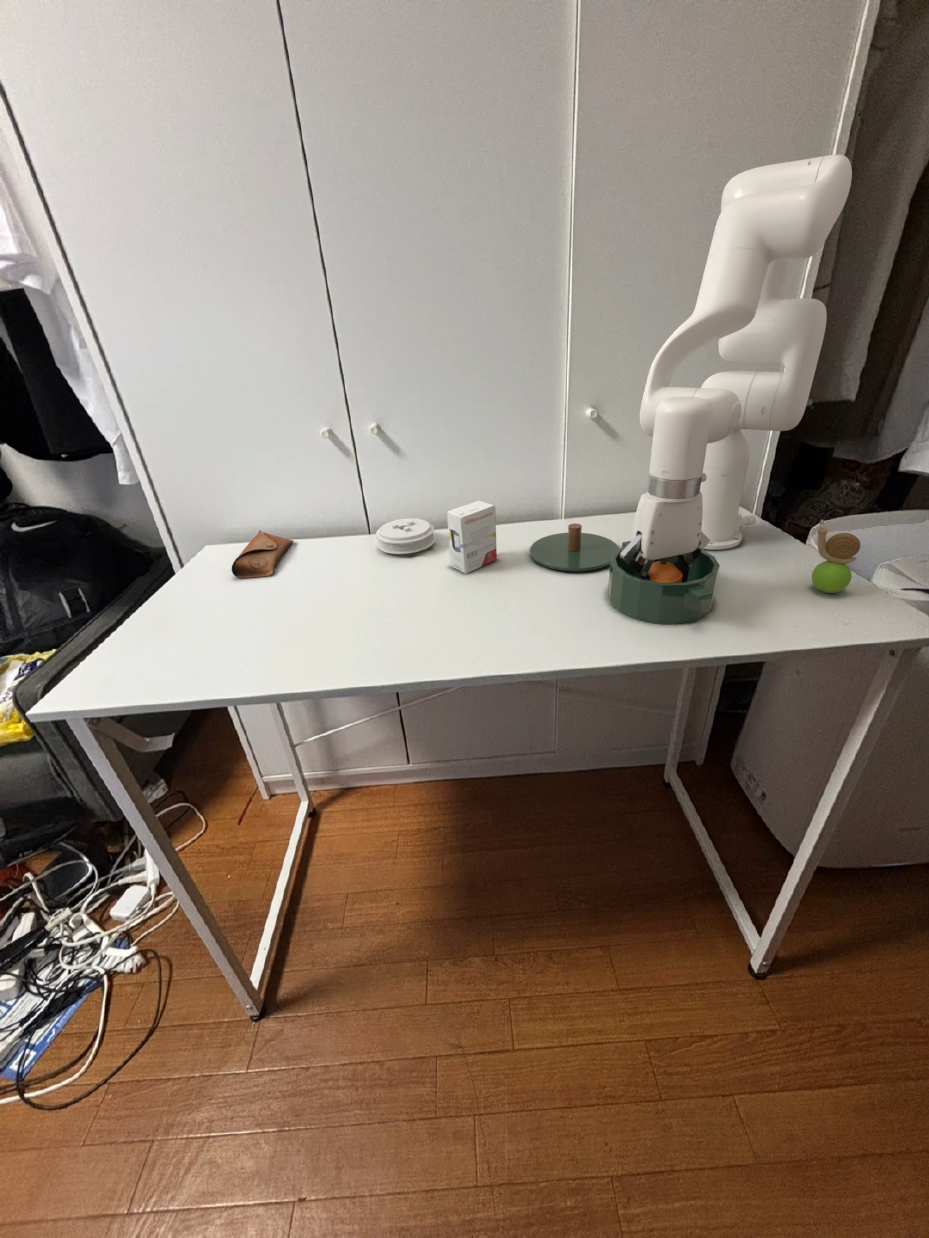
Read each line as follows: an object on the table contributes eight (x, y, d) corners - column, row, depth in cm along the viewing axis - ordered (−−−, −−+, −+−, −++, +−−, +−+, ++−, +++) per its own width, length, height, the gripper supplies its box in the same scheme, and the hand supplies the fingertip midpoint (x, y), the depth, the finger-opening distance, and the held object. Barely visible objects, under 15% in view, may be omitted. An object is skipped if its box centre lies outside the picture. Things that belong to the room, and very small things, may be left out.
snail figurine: (802, 580, 95) (821, 514, 88) (846, 587, 92) (868, 519, 85) (800, 593, 91) (819, 526, 85) (845, 601, 88) (869, 532, 82)
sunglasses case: (274, 573, 110) (250, 549, 107) (249, 591, 112) (225, 567, 109) (295, 539, 126) (274, 517, 123) (273, 555, 128) (252, 534, 125)
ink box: (482, 553, 113) (479, 499, 107) (498, 561, 110) (496, 504, 104) (449, 567, 109) (444, 510, 103) (465, 575, 105) (461, 517, 99)
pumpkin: (664, 584, 95) (669, 547, 92) (687, 601, 90) (693, 562, 86) (632, 591, 94) (636, 553, 90) (652, 608, 89) (657, 569, 85)
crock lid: (592, 532, 119) (594, 505, 116) (636, 564, 104) (639, 533, 101) (517, 546, 115) (517, 518, 112) (551, 580, 101) (551, 550, 98)
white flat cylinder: (440, 534, 124) (438, 513, 121) (429, 558, 113) (426, 535, 110) (386, 535, 126) (383, 514, 123) (370, 558, 115) (367, 536, 113)
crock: (664, 564, 103) (668, 529, 100) (745, 620, 85) (755, 580, 81) (584, 580, 100) (586, 545, 96) (651, 641, 82) (657, 601, 78)
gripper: (707, 471, 87) (690, 571, 96) (609, 486, 84) (602, 589, 93) (739, 483, 81) (718, 590, 90) (636, 501, 77) (625, 610, 87)
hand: (659, 588), depth 91 cm, fingers closed on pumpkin, 6 cm apart
